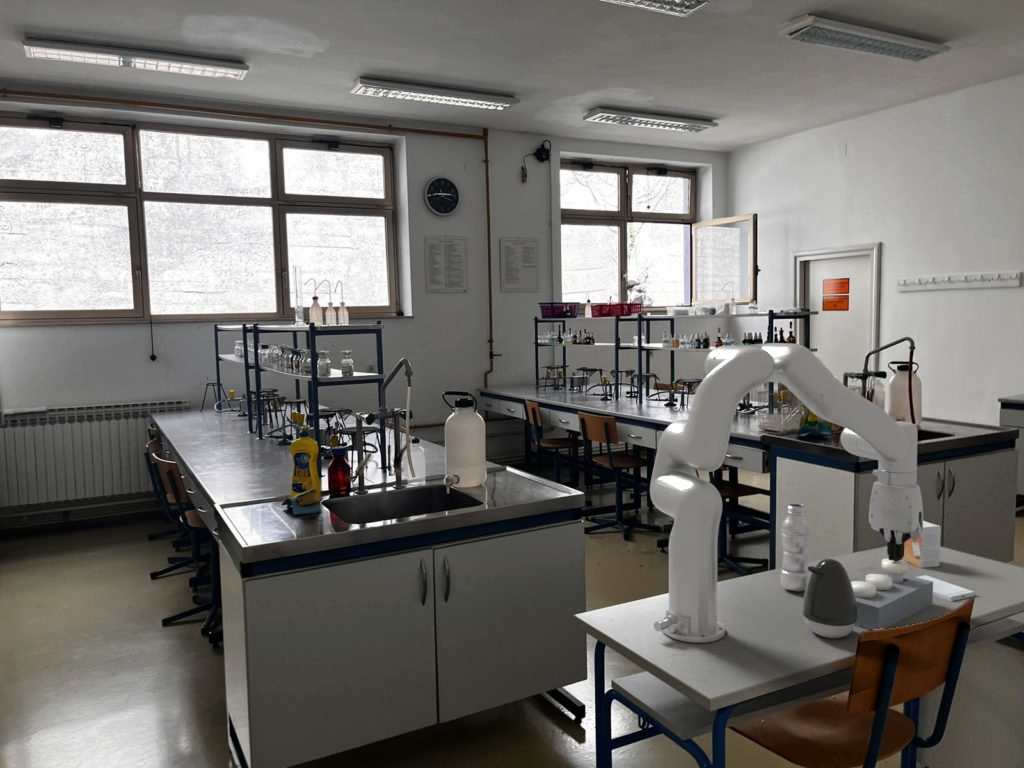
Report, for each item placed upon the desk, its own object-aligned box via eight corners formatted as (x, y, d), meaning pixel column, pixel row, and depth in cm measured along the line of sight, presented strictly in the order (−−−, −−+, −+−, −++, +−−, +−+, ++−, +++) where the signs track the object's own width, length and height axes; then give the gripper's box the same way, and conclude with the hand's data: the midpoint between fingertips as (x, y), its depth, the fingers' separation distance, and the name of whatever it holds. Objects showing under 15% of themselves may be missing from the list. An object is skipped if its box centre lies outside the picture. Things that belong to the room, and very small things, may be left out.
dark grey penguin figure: (790, 627, 155) (791, 554, 154) (831, 620, 158) (832, 549, 157) (826, 647, 145) (827, 570, 144) (868, 639, 149) (870, 563, 147)
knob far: (900, 593, 164) (901, 567, 164) (876, 586, 168) (877, 561, 168) (911, 587, 167) (912, 562, 167) (888, 581, 171) (888, 556, 171)
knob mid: (884, 610, 160) (885, 583, 160) (860, 603, 164) (861, 577, 164) (896, 604, 163) (896, 578, 163) (872, 597, 167) (873, 572, 167)
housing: (878, 632, 152) (878, 607, 151) (822, 614, 161) (822, 591, 161) (932, 603, 166) (933, 581, 166) (878, 589, 176) (878, 568, 175)
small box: (898, 558, 198) (899, 519, 197) (917, 557, 199) (918, 517, 198) (920, 568, 190) (922, 527, 189) (940, 566, 191) (941, 525, 190)
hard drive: (902, 579, 179) (950, 596, 168) (926, 574, 182) (975, 590, 171) (902, 586, 179) (950, 603, 168) (926, 581, 182) (975, 597, 171)
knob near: (867, 618, 156) (868, 591, 155) (843, 611, 160) (844, 584, 160) (880, 612, 159) (880, 585, 159) (856, 605, 163) (856, 579, 163)
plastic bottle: (815, 594, 173) (816, 508, 171) (785, 594, 173) (786, 509, 172) (804, 585, 179) (806, 502, 178) (776, 585, 180) (777, 502, 178)
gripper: (855, 475, 170) (854, 555, 171) (924, 485, 158) (922, 571, 159) (872, 470, 174) (870, 548, 176) (940, 480, 162) (938, 564, 164)
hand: (895, 559), depth 167 cm, fingers closed
